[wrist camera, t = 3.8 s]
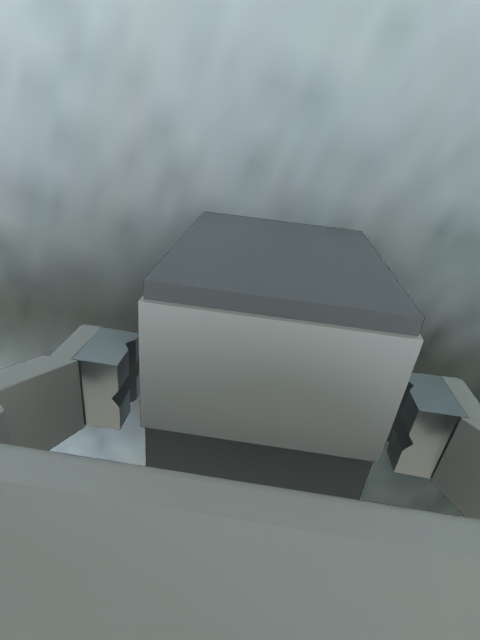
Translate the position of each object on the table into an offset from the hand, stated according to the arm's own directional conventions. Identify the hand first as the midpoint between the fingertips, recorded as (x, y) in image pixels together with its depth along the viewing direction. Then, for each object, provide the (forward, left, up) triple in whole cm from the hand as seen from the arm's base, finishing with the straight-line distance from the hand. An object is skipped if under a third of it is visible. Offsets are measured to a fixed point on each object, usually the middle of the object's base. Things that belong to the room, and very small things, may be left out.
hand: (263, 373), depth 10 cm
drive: (0, 0, -2) cm, 2 cm away
